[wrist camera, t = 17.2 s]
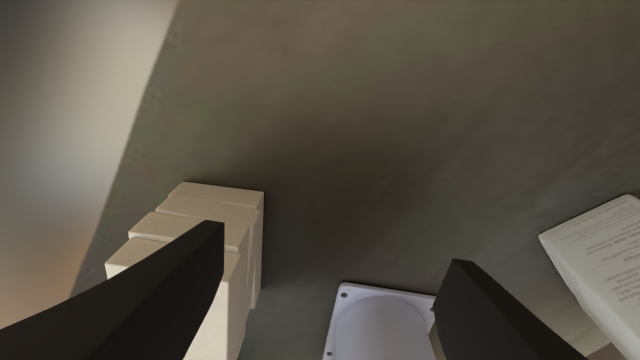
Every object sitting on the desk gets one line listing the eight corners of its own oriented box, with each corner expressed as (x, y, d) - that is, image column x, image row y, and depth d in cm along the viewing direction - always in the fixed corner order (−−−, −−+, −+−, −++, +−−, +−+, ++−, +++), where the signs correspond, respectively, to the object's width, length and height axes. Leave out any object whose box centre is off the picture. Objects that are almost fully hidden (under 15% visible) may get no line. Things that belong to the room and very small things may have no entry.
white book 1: (236, 365, 19) (226, 399, 17) (149, 352, 19) (128, 385, 17) (242, 253, 15) (228, 282, 13) (131, 236, 15) (103, 262, 13)
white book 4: (245, 333, 21) (236, 361, 19) (164, 322, 21) (148, 349, 19) (249, 225, 17) (238, 247, 15) (150, 210, 17) (127, 231, 15)
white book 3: (249, 310, 22) (241, 334, 21) (175, 297, 22) (161, 320, 21) (261, 209, 19) (253, 228, 17) (172, 192, 18) (154, 209, 17)
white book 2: (260, 289, 24) (254, 309, 22) (192, 280, 24) (180, 300, 22) (264, 191, 20) (257, 206, 19) (182, 181, 20) (167, 194, 19)
